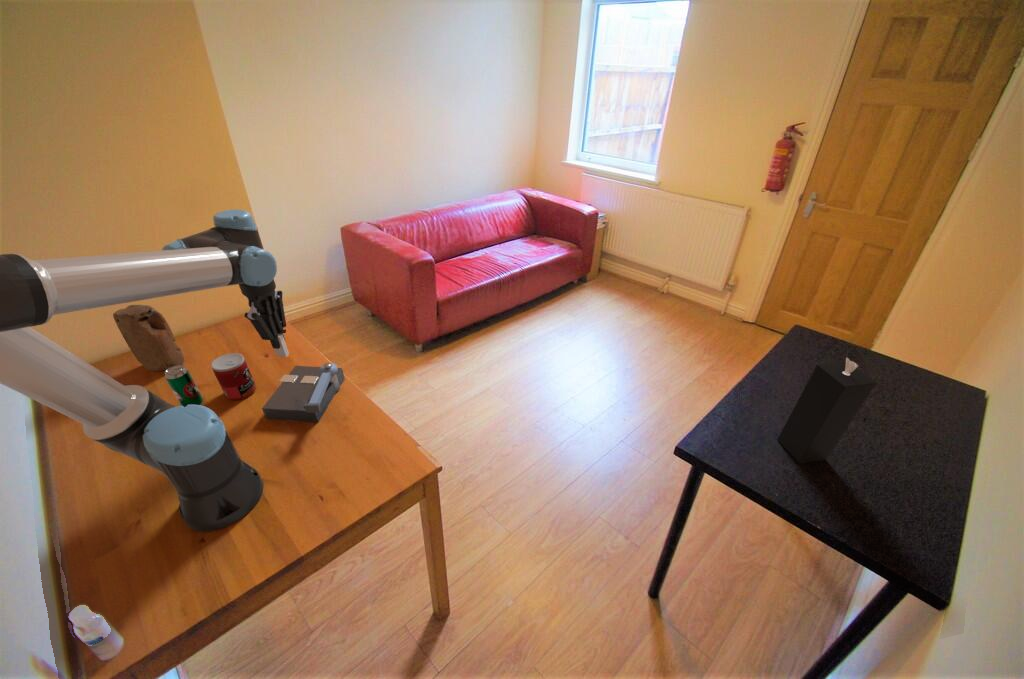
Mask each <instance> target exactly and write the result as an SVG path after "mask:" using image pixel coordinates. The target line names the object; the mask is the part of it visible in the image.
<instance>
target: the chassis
mask: <svg viewBox="0 0 1024 679" xmlns="http://www.w3.org/2000/svg"><path fill="white" fill-rule="evenodd" d="M331 363H332V362H326V363H324V364H323V365H324V368H325V369H329V368H331V367H332V365H331ZM320 368H321V366H310V365H309V366H308V365H307V366H306V365H295V366H294V367H293V368H292V369H291V371H289V373H288V374H283V375H282V377H281V378H280V379H279V380H278V382H279V383H280V384H279V386H278V387H277V388H276V390H275V391H274V392H273V394H271V396H270V397H269V399H268V400H267V401H266V402H265V403H264V405H263V407H262V408H261V409H262V412H263V414H264V417H265V418H266V420H270V421H271V420H273V421H289V422H292V421H293V422H306V423H319V422H320V420H321V418H322V417H323V415H324V413H325V412H326V411H327V409H328V407H329V406H328V405H330V404H331V402H332V401H333V399H334V397H335V396H336V394H337V393H338V392H340V390H341V386H342V384H343V382H344V381H345V379H346V378H345V375H344V374H345V373H344V371H343V368H341V367H337V369H338V372H337V374H336V375H334V376H332V377H331V379H330V381H329V384H328V386H327V389H326V391H325V393H324V396H323V398H322V400H321V403H320V405H319V406H320V409H321V411H320V412H314V413H307V412H306V409H305V407H304V405H305V404H307V403H309V402H310V399H311V397H312V395H313V393H314V391H315V388H316V386H317V384H318V382H319V379H320V377H321V372H320ZM334 395H335V396H334ZM331 400H332V401H331ZM329 403H330V404H329Z"/></svg>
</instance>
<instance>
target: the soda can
mask: <svg viewBox="0 0 1024 679" xmlns="http://www.w3.org/2000/svg"><path fill="white" fill-rule="evenodd" d="M164 379H165V381H166V382H167V383H168V386H169V388H170V389H171V390H172V393H173V395H174V396H175V398H176V400H177V402H178V403H179V406H183V407H186V406H187V405H201V406H202V404H203V402H204V398H203V395H202V393H201V392H200V390H199V388H198V386H197V384H196V382H195V381H194V378H193V377H192V375H191V373H190V371H189V369H188V367H186V366H184V365H182V364H181V365H176V366H173V367H170V368H168V369H167V370H164Z"/></svg>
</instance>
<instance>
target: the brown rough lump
mask: <svg viewBox="0 0 1024 679" xmlns="http://www.w3.org/2000/svg"><path fill="white" fill-rule="evenodd" d="M112 317H113V319H114V322H115V324H116V326H117V328H118V329H119V332H120V334H121V336H122V338H123V339H124V341H125V342H126V345H127V346H128V348H129V350H130V351H131V352H132V354H133V356H134V357H135V358H136V360H137V362H138V363H140V364H141V365H142V366H143V367H144V368H145V369H146V370H148V371H151V372H162V371H166V370H167V369H168V368H170V367H173V366H176V365H182V364H183V363H184V362H185V356H184V354H183V352H182V350H181V348H180V346H179V345H178V343H175V342H176V339H175V335H174V333H173V331H172V329H171V327H170V325H169V323H168V322H167V320H166V318H165V317H164V316H163V314H162V313H160V312H159V311H158V310H157V309H156V308H154V307H153V306H151V305H144V304H130V305H128V306H127V307H125V308H120V309H117V310H116V311H114V312H113V314H112Z"/></svg>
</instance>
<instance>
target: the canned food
mask: <svg viewBox="0 0 1024 679" xmlns="http://www.w3.org/2000/svg"><path fill="white" fill-rule="evenodd" d="M210 366H211V370H212V371H213V373H214V376H215V378H216V380H217V381H218V384H219V386H220V387H221V390H222V391H223V394H224V396H225V397H226V398H228V399H229V400H232V401H239V400H243V399H247V398H248V397H250V396H252V395H253V394H254V393H255V391H256V389H257V386H256V382H255V380H254V378H253V375H252V373H251V371H250V368H249V366H248V363H247V361H246V359H245V357H244V355H243V354H241V353H236V352H233V353H225V354H223V355H221V356H218V357H217V358H215V359H213V361H212V362H211V364H210Z"/></svg>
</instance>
